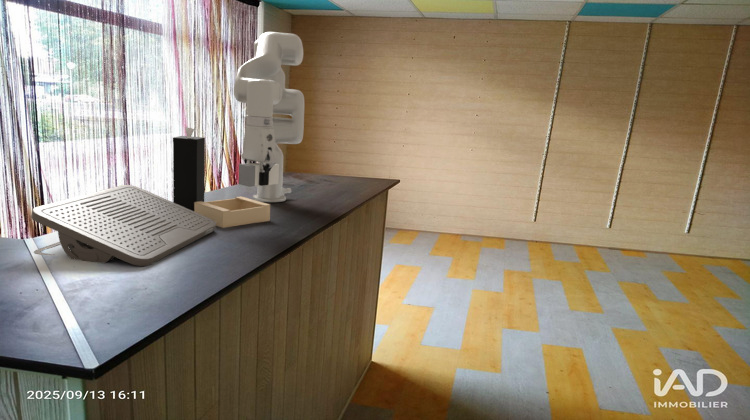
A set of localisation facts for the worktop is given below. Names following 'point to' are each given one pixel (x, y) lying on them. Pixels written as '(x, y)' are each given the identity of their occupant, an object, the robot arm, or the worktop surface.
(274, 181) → the capped box
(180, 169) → the tissue box
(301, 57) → the robot arm
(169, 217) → the foot rest
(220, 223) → the carton
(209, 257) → the worktop surface
